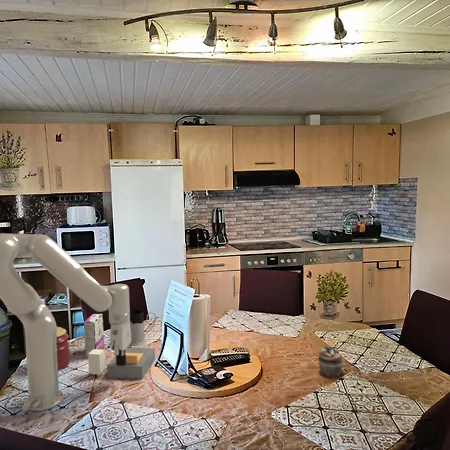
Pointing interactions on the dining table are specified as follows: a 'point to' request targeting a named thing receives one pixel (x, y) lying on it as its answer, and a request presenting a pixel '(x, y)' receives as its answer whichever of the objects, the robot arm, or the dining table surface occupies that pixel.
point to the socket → (132, 365)
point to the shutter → (132, 358)
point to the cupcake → (330, 361)
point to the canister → (62, 348)
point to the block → (96, 362)
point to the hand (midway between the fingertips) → (121, 364)
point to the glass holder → (138, 327)
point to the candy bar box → (94, 333)
